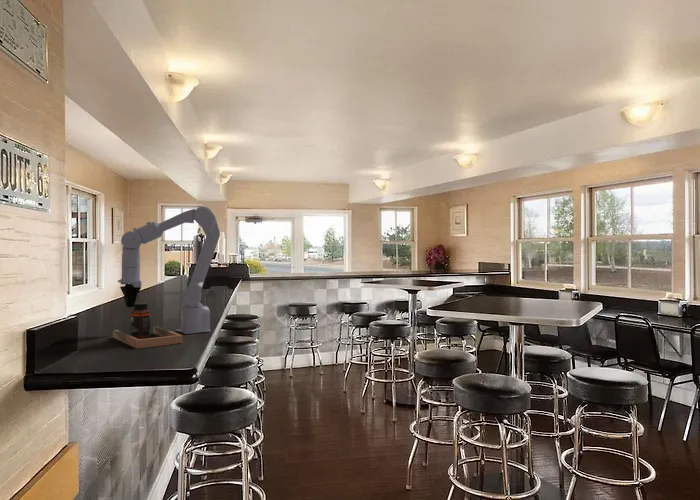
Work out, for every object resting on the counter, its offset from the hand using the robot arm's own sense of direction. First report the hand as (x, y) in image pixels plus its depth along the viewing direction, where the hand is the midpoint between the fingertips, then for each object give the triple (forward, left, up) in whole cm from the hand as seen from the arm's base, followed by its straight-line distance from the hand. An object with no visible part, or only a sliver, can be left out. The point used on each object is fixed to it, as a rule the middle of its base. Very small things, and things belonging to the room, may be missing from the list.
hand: (130, 306), depth 175 cm
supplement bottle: (0, +10, -9) cm, 14 cm away
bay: (0, +15, -9) cm, 17 cm away
